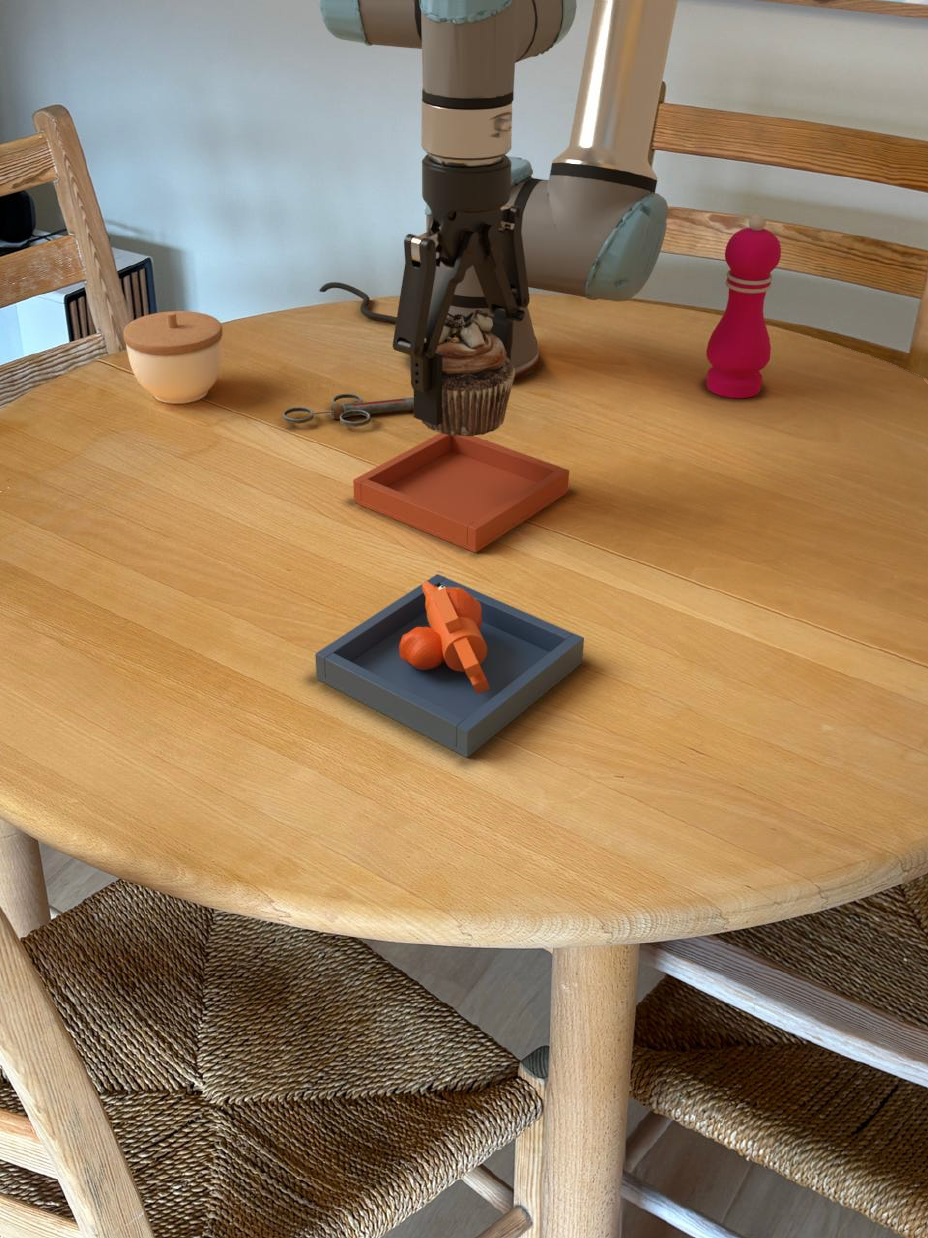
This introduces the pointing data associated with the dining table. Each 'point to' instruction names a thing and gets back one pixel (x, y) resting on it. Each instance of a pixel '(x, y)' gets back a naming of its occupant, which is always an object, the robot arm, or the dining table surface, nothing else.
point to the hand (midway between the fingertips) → (462, 402)
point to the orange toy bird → (448, 635)
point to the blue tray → (450, 670)
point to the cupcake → (472, 376)
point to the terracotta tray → (461, 489)
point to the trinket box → (175, 354)
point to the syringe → (354, 409)
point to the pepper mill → (744, 314)
